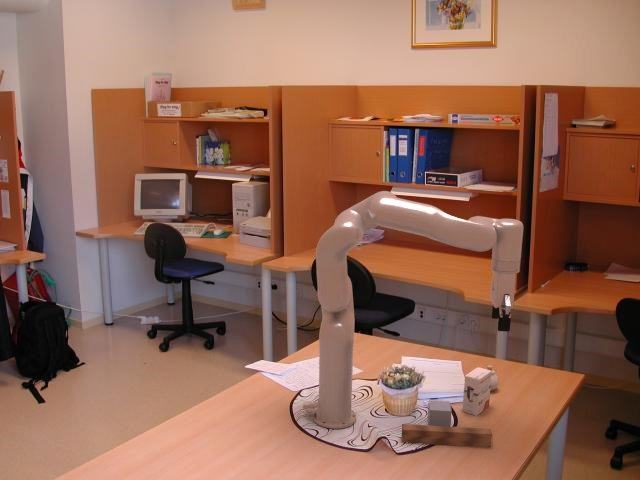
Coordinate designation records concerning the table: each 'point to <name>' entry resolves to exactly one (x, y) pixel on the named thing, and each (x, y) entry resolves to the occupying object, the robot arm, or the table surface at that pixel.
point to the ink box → (477, 391)
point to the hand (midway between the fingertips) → (500, 324)
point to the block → (439, 413)
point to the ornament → (493, 378)
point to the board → (446, 435)
